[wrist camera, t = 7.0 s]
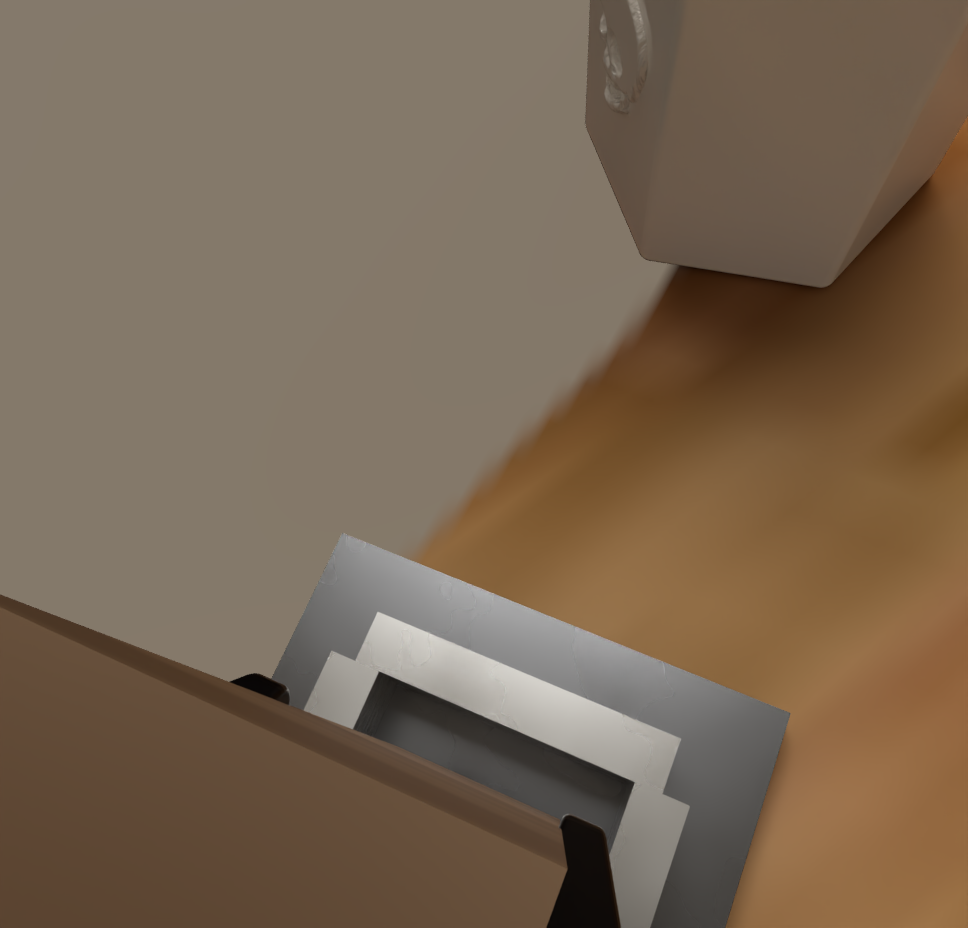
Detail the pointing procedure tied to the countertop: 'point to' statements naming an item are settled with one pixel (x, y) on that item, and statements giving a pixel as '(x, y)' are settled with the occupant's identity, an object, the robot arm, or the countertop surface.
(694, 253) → the jar
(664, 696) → the square frame on plate
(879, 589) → the countertop surface
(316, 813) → the walnut stick
